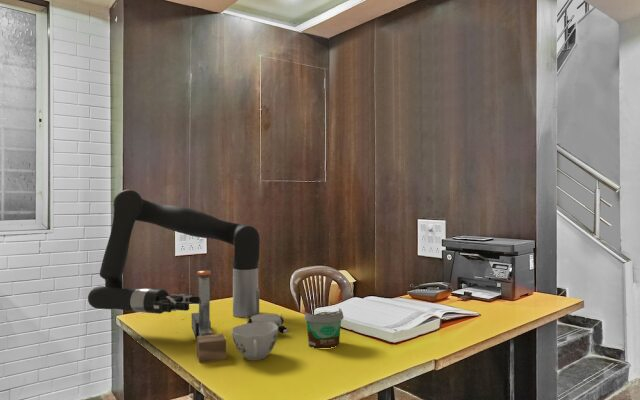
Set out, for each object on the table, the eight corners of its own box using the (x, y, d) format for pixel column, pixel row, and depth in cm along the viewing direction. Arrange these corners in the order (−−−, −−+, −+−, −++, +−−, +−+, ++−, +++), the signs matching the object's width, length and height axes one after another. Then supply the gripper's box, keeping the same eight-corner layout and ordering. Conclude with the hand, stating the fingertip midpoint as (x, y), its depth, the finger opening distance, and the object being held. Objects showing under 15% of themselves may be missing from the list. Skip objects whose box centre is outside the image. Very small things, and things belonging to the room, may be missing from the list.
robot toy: (291, 340, 143) (281, 324, 157) (291, 326, 142) (281, 311, 157) (251, 344, 139) (245, 327, 153) (251, 329, 139) (245, 313, 153)
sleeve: (191, 326, 154) (191, 313, 154) (205, 325, 156) (205, 312, 156) (195, 338, 142) (195, 323, 142) (210, 336, 143) (210, 321, 143)
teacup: (233, 350, 131) (233, 322, 131) (277, 348, 132) (277, 320, 132) (230, 370, 116) (230, 338, 116) (279, 367, 117) (279, 336, 117)
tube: (192, 324, 154) (192, 264, 154) (204, 323, 155) (204, 263, 155) (199, 344, 133) (199, 274, 133) (213, 342, 135) (213, 274, 135)
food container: (313, 353, 128) (313, 317, 128) (304, 346, 134) (304, 312, 134) (351, 346, 134) (351, 312, 134) (340, 340, 139) (340, 307, 139)
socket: (196, 355, 126) (196, 336, 126) (222, 352, 129) (222, 333, 129) (199, 362, 121) (199, 342, 121) (226, 359, 123) (226, 340, 123)
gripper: (135, 293, 138) (183, 296, 134) (162, 284, 151) (207, 286, 147) (135, 318, 138) (183, 321, 134) (162, 307, 151) (207, 310, 147)
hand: (196, 303), depth 140 cm, fingers open, 8 cm apart
